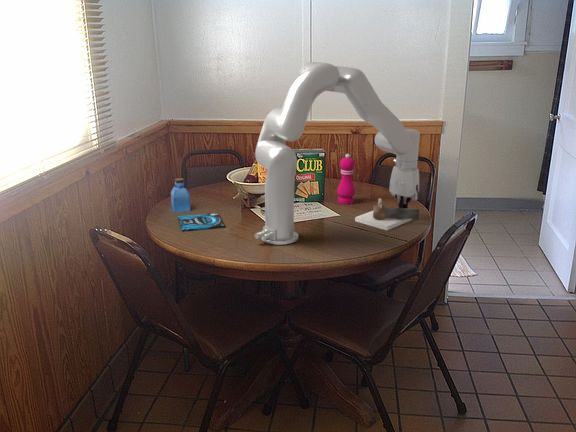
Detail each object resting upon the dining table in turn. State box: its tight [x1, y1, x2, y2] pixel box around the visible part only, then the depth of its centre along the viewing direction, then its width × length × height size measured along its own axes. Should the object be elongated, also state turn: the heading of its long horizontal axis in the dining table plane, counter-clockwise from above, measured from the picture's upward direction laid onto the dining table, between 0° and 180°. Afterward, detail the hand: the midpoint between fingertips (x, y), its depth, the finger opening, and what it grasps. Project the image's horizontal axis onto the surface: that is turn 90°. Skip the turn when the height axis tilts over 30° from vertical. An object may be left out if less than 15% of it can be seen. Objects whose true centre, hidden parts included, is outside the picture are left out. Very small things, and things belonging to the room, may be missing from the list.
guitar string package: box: [177, 212, 226, 232], centre depth 193 cm, size 15×1×15 cm
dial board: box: [354, 210, 413, 231], centre depth 197 cm, size 16×15×2 cm
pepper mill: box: [336, 153, 356, 205], centre depth 215 cm, size 7×7×20 cm
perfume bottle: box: [170, 177, 192, 213], centre depth 206 cm, size 6×6×12 cm
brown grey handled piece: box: [372, 198, 420, 220], centre depth 193 cm, size 16×4×6 cm, turn 84°
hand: (402, 212), depth 198 cm, fingers closed
